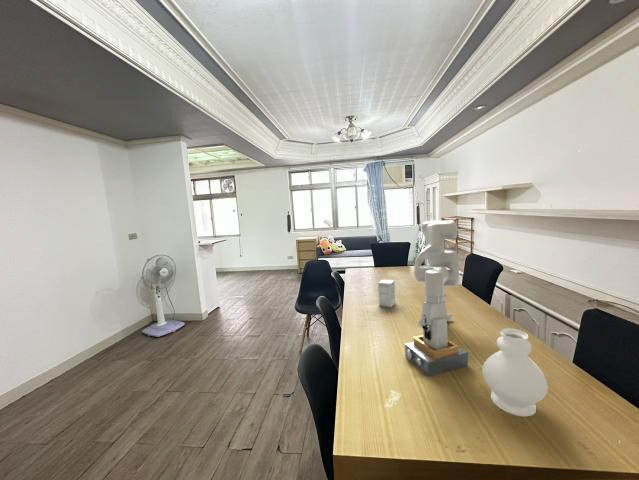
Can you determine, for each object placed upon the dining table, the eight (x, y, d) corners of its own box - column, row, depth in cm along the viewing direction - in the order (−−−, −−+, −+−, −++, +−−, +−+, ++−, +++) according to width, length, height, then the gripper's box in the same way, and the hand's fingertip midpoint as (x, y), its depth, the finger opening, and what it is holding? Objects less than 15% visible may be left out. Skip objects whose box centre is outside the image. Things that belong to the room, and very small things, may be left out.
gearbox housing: (441, 347, 128) (441, 329, 127) (468, 365, 113) (468, 345, 112) (403, 356, 123) (402, 338, 122) (425, 376, 107) (425, 356, 106)
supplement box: (395, 303, 190) (395, 280, 188) (392, 307, 182) (391, 283, 180) (383, 301, 195) (382, 279, 193) (378, 305, 187) (377, 282, 185)
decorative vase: (551, 431, 79) (555, 352, 76) (481, 410, 88) (482, 340, 86) (541, 394, 94) (543, 327, 91) (482, 380, 103) (482, 318, 100)
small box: (448, 346, 115) (447, 318, 114) (437, 351, 112) (437, 322, 111) (432, 339, 122) (432, 312, 121) (422, 343, 120) (422, 315, 118)
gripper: (444, 292, 121) (445, 329, 123) (411, 298, 116) (412, 337, 118) (457, 297, 113) (457, 337, 116) (422, 304, 109) (423, 345, 111)
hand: (434, 336), depth 117 cm, fingers closed on small box, 6 cm apart
